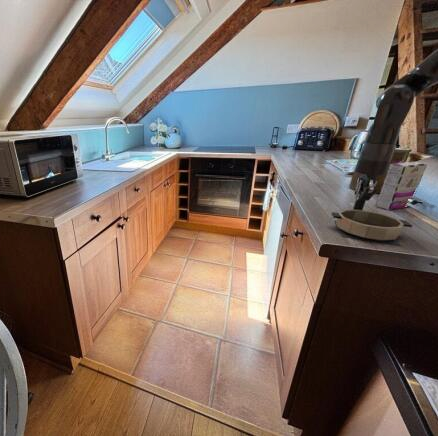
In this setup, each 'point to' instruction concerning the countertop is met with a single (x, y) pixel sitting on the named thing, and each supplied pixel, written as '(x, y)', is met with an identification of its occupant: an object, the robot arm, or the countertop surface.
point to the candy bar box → (400, 184)
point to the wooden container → (396, 158)
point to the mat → (344, 234)
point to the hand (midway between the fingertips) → (357, 210)
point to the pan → (369, 224)
